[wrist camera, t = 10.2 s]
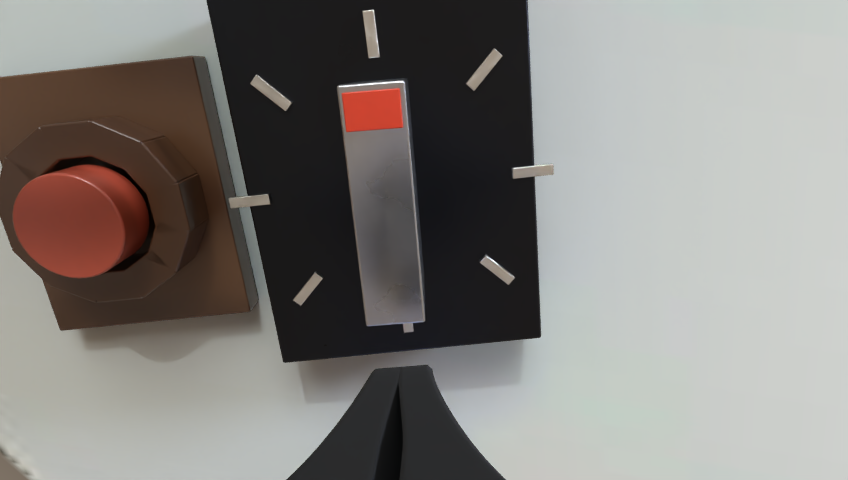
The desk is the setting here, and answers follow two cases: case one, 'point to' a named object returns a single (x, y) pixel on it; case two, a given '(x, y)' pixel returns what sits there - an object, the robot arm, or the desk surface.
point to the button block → (148, 171)
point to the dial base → (433, 153)
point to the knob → (384, 199)
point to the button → (80, 220)
